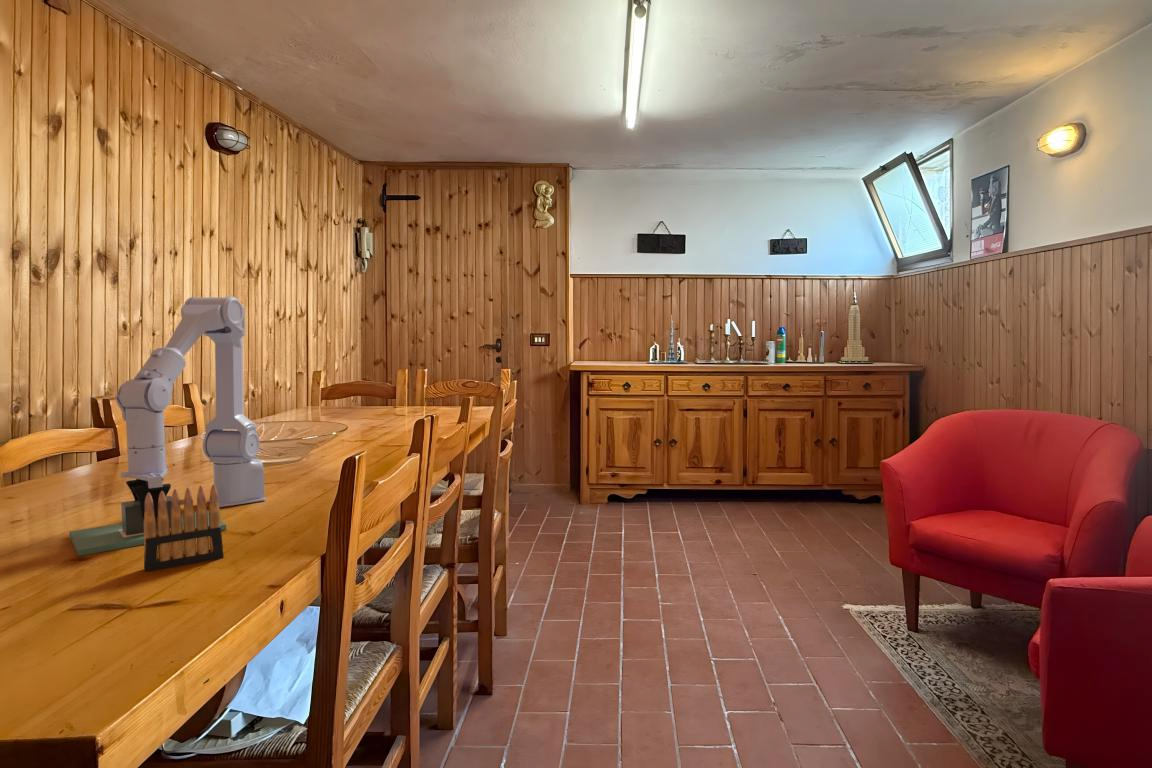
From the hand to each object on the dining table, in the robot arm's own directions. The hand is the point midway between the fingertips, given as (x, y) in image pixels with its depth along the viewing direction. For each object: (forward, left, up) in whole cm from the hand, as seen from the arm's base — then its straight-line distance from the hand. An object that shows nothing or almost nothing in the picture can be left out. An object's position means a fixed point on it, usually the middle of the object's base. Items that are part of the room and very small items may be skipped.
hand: (149, 520), depth 120 cm
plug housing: (-1, 0, -1) cm, 2 cm away
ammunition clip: (-1, +21, -3) cm, 22 cm away
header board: (0, -1, -2) cm, 3 cm away
